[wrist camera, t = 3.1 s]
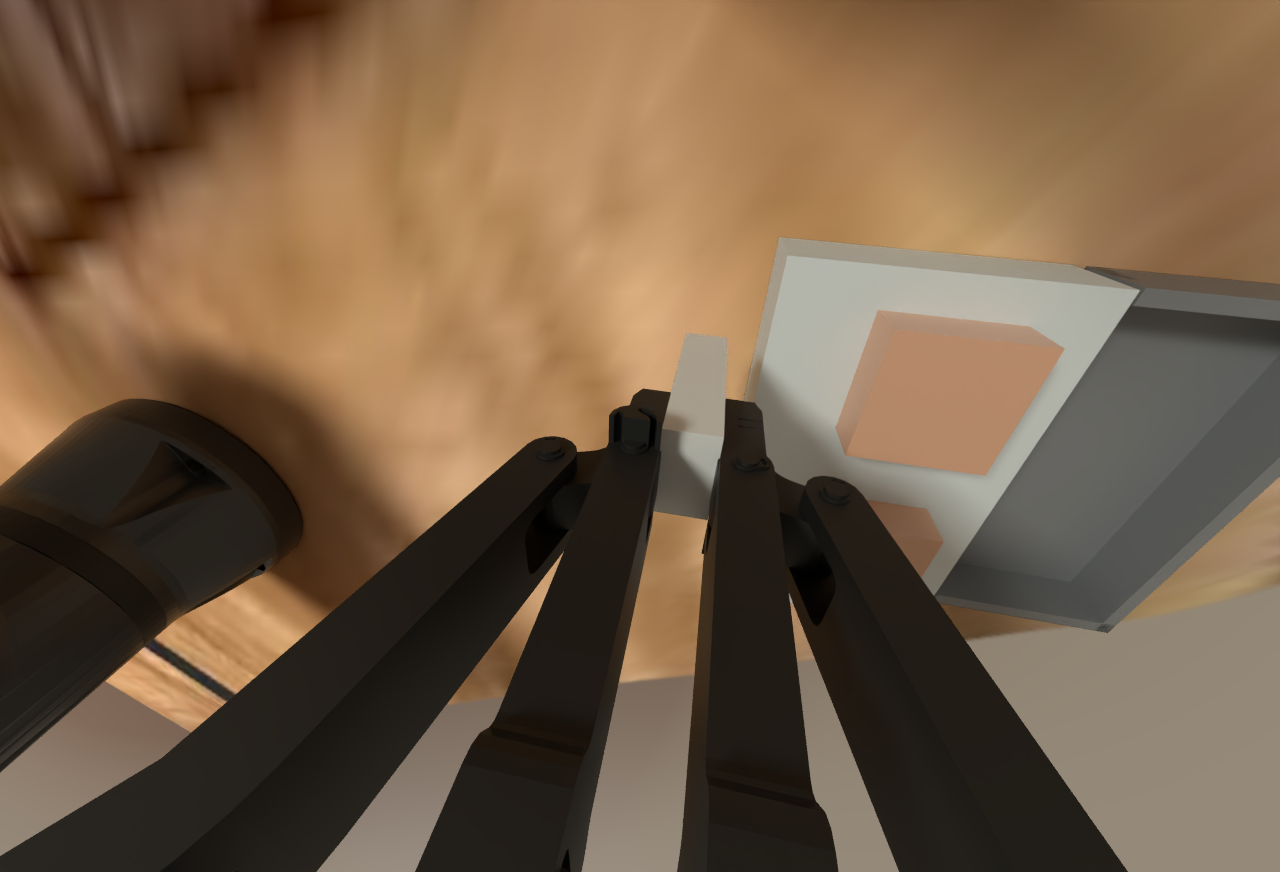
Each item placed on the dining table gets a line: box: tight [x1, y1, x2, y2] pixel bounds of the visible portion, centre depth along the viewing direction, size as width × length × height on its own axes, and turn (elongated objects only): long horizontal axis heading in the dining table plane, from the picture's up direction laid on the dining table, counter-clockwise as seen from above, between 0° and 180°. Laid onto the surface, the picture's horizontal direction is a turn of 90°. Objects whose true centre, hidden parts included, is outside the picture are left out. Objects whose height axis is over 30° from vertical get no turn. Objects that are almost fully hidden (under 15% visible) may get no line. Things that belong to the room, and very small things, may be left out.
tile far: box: [867, 500, 944, 578], centre depth 21 cm, size 5×5×2 cm
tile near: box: [835, 310, 1065, 476], centre depth 16 cm, size 5×5×2 cm
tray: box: [934, 266, 1280, 633], centre depth 20 cm, size 8×16×3 cm, turn 177°
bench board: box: [744, 237, 1140, 603], centre depth 21 cm, size 11×18×4 cm, turn 177°
